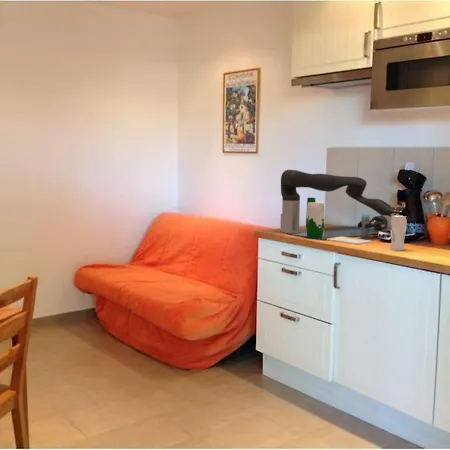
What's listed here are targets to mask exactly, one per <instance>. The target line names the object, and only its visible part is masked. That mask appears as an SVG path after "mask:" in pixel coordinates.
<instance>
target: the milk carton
mask: <svg viewBox="0 0 450 450" xmlns="http://www.w3.org/2000/svg"><path fill="white" fill-rule="evenodd" d="M305 211H306V212H305V216H306V217H305V230H306V237H307V239H318V238H322V239H323V236H324V229H325V202H324V201H317V200H316V197H307V199H306V209H305Z"/></svg>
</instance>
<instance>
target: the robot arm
mask: <svg viewBox="0 0 450 450" xmlns="http://www.w3.org/2000/svg"><path fill="white" fill-rule="evenodd" d="M343 187H346V188H345V193H346V195H347V196H348V197H349V198H352V199H353V200H355V201H356V202H358V203H361V204H362V205H364V206H366V207H368V208H370V209H372V210H373V211H375V213H377V214H379V215H376V216H373V217H372V218H371V219H370V220H369V224H365V228H366V229H367V228H369V229H371V230H373V231H376V232H380V231H386V230H390V222H391V216H392V215H396V214H394V210H395V207H393V206H392V207H391V205H390V204H389V203H387V202H386V201H385V202H384V200H382V199H381V198H380V199H379V198H368V197H364V195H363V193H364V192H365V190H366V187H367V181H366V180H365V179H364V178H362V177H358V176H340V175H333V174H328V173H327V174H326V173H308V172H304V171H300V170H297V169H296V170H295V169H287V170H284V171H283V172H282V173H281V177H280V195H281V197H282V200H281V201H282V204H281V205H282V206H281V207H282V208H281V209H282V210H281V212H282V213H280V232H281V233H284V234H285V233H286V234H298V233H300V218H301V217H300V216H301V215H300V213H301V212H300V209H301V208H300V207H301V195H300V194H299V192H297V188H309V189H313V190H314V191H315V190H316V191H320V192H329V193H330V192H334V191H336V190H339V189H341V188H343ZM392 213H393V214H392ZM391 214H392V215H391ZM357 228H362V220H360V221H359V222H358V223H357Z"/></svg>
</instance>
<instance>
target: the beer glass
mask: <svg viewBox="0 0 450 450" xmlns="http://www.w3.org/2000/svg"><path fill="white" fill-rule="evenodd" d="M406 217H407V216H403V215H394V214H392V216H391V222H390V229H389V230H390V236H391V238H390V239H391V242H390V243H391V244H390V250H392V251H405V236H406V233H407V227H408V226H407V225H408V224H407V222H408V220H407V219H406Z"/></svg>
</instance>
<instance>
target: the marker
mask: <svg viewBox="0 0 450 450" xmlns="http://www.w3.org/2000/svg"><path fill="white" fill-rule="evenodd" d="M370 217H371V216H370V214H369V213H362V214H361V221H362V227H361V229H360V230H361V234H360V239H364V240H370V239H369V235H370V228H367V229H366V228H365V224H369V220H371V219H370Z"/></svg>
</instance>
